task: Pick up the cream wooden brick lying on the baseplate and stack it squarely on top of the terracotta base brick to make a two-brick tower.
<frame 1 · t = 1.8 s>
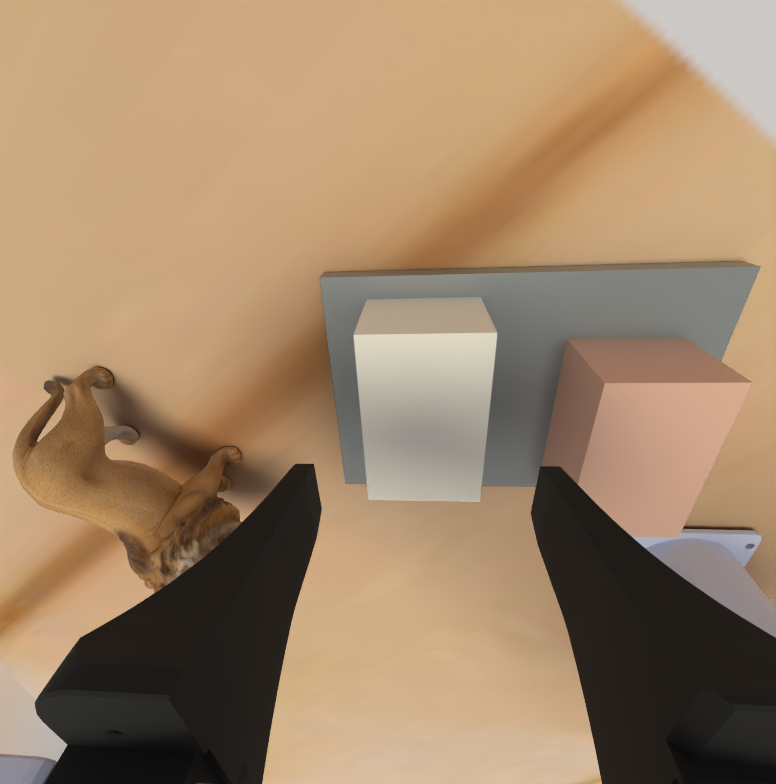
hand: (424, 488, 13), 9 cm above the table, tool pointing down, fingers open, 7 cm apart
terracotta brick: (603, 412, 20), point 1 cm above the table, touching baseplate
cream brick: (422, 378, 19), point 1 cm above the table, touching baseplate
baseplate: (509, 385, 20), on the table
lion figurine: (191, 437, 24), on the table
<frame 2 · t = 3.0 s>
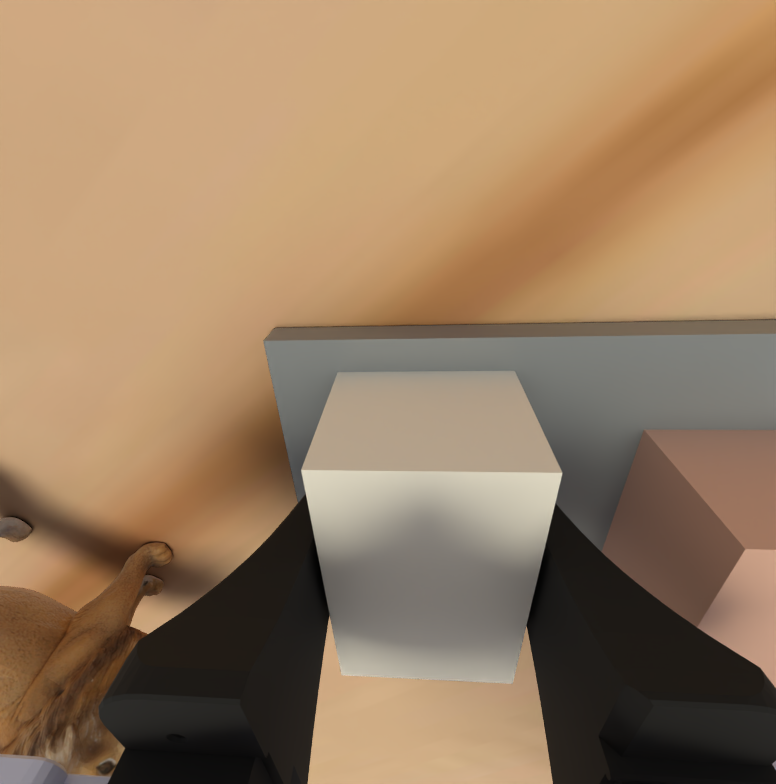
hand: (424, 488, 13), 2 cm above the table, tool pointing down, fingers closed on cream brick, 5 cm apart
terracotta brick: (687, 525, 14), point 1 cm above the table, touching baseplate
cream brick: (424, 477, 13), point 1 cm above the table, touching baseplate, gripper
baseplate: (548, 481, 14), on the table
lion figurine: (103, 528, 18), on the table
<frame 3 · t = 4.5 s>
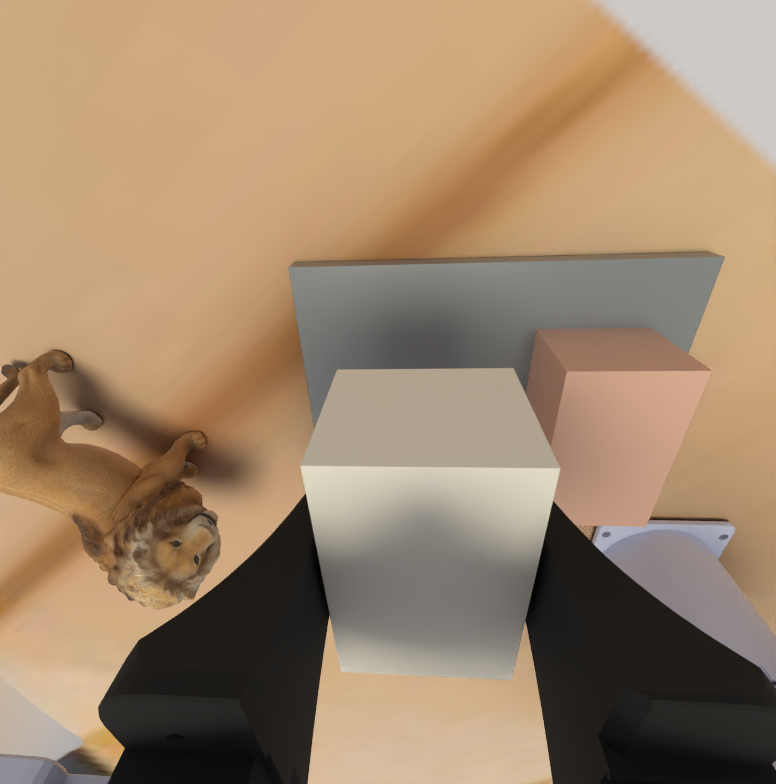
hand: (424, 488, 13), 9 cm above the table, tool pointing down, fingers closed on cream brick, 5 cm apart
terracotta brick: (575, 403, 20), point 1 cm above the table, touching baseplate
cream brick: (423, 475, 13), point 8 cm above the table, touching gripper
baseplate: (482, 377, 20), on the table
lion figurine: (155, 422, 24), on the table
when the fingers open (7 cm above the table, at t = 5.9 s): cream brick stays where it is, resting on terracotta brick.
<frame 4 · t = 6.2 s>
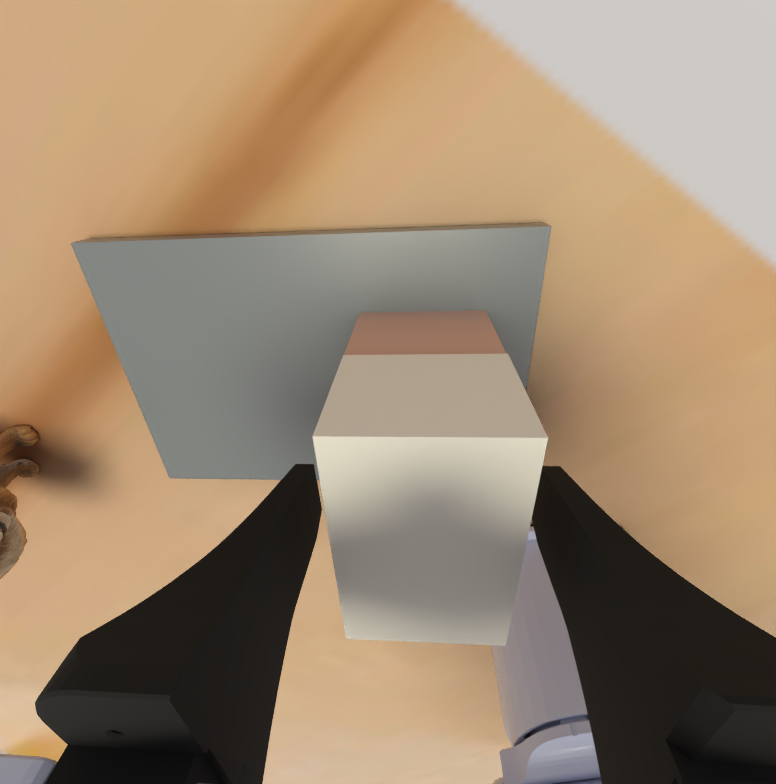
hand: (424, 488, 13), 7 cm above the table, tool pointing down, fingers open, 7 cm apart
terracotta brick: (421, 397, 18), point 1 cm above the table, touching baseplate, cream brick
cream brick: (423, 456, 14), point 5 cm above the table, touching terracotta brick
baseplate: (325, 368, 18), on the table
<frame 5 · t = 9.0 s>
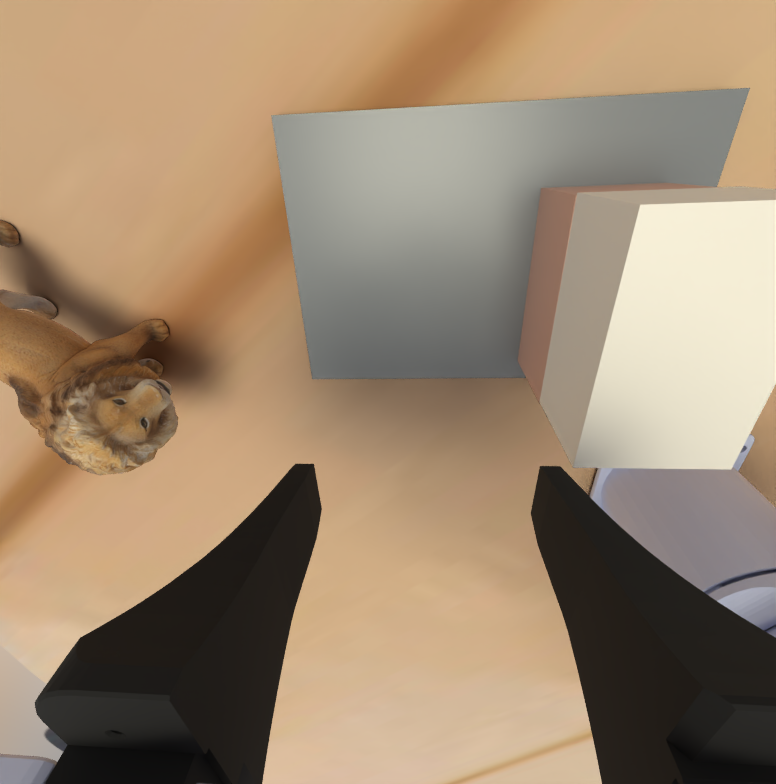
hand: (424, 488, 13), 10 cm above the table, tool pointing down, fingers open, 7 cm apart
terracotta brick: (583, 282, 18), point 1 cm above the table, touching baseplate, cream brick
cream brick: (624, 310, 15), point 5 cm above the table, touching terracotta brick
baseplate: (483, 258, 19), on the table
lion figurine: (114, 311, 22), on the table
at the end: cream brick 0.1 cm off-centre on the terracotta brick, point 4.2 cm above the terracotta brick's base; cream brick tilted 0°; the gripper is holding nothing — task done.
